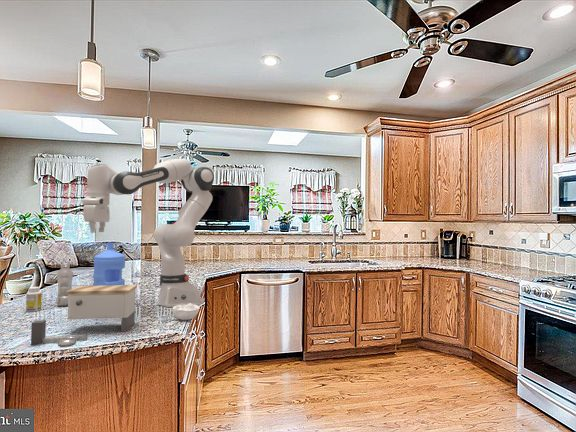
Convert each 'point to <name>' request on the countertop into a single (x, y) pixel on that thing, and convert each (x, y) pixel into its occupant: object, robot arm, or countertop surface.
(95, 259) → the water jug
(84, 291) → the low cabinet
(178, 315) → the bowl of rice
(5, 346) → the countertop surface
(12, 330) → the countertop surface
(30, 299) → the supplement bottle
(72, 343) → the steel token
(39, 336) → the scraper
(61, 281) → the plastic bottle
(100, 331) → the countertop surface
